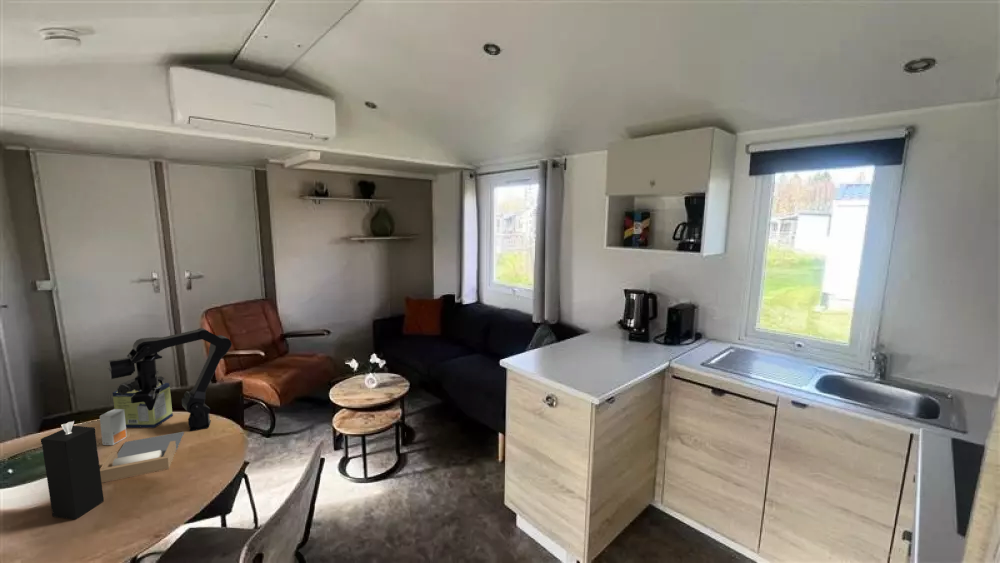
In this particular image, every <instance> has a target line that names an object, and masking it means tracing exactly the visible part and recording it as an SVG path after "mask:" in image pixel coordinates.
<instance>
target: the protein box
mask: <svg viewBox="0 0 1000 563" xmlns="http://www.w3.org/2000/svg"><path fill="white" fill-rule="evenodd" d="M159 388H161V390H160V393H159V395H158V398H157V400H156V403H155V405H154V408H153V410H150V411H149V410H148V408H147V406H146V404H145V403H144V402H138V403H131V397H132V396H133V395H134V394H135V393H136V392H139V391H141V390H139V391H135V390H132V391H130V392H127V393H126V394H124V395H121V393H118V392H117V391H118V390H117V389H116V390H115V391H113V392H112V400H113V409H124V412H125V422H126V429H127V428H132V429H133V428H136V429H137V428H138V429H139V428H140V429H141V428H142V429H143V428H147V429H148V428H149V429H150V428H151V429H155V428H156V427H158V426H159V425H161V424H162V422H163V423H164V422H166V421H167V420H169V419H170V418H172V417H174V413H173V408H172V407H173V406H172V396H171V386H170V383H169V382H165V383H164V384H163V385H161V383H159V385H158V386H157V388H156V389H159Z"/></svg>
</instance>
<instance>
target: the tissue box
mask: <svg viewBox="0 0 1000 563" xmlns="http://www.w3.org/2000/svg"><path fill="white" fill-rule="evenodd" d="M74 423H75V420H73V421H68V422H67V423H63V424H60V425H61V428H62V429H61V430H59V431H56V432H54V433H51V434H49V435H47V436H43V437H42V438H40V444H41V447H42V453H43V459H44V460H43V461H44V466H45V467H44V469H45V474H46V481H47V487H48V493H49V494H48V495H49V500H50V506H51V507H50V508H51V514H52V515H51V516H52V518H53V517H54V518H62V519H70V520H77V519H79V518H80V517H82V516H83V515H85V514H86V513H88V512H89V511H91V510H93V509H94V508H96V507H97V506H99V505H101V504H102V503H103V502H104V501H105V500H104V492H103V491H104V490H103V485H102V484H103V483H102V482H101V474H100V468H101V467H100V460H99V452H98V445H97V443H98V442H97V436H96V427H93V426H83V425H74Z"/></svg>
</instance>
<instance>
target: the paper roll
mask: <svg viewBox="0 0 1000 563" xmlns="http://www.w3.org/2000/svg"><path fill="white" fill-rule="evenodd" d="M158 457H162V452H161V450H158V451H153V452H148V453H142V454H137V455H132V456H126V457H121V458H116V459H114V461H113V466H117V465H122V464H127V463H133V462H138V461H143V460H148V459H153V458H158Z"/></svg>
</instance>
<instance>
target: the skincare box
mask: <svg viewBox="0 0 1000 563" xmlns="http://www.w3.org/2000/svg"><path fill="white" fill-rule="evenodd" d="M99 423H100V424H99V425H100V434H101V442H102V444H101V445H104V446H114V445H115V444H118V443H120V442H121V441H123V440H125V439H127V437H128V432H127V428H126V422H125V412H124V409H114V408H113V409H111V410H108V411H107V412H105V413H102V414H101V415H99Z"/></svg>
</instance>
